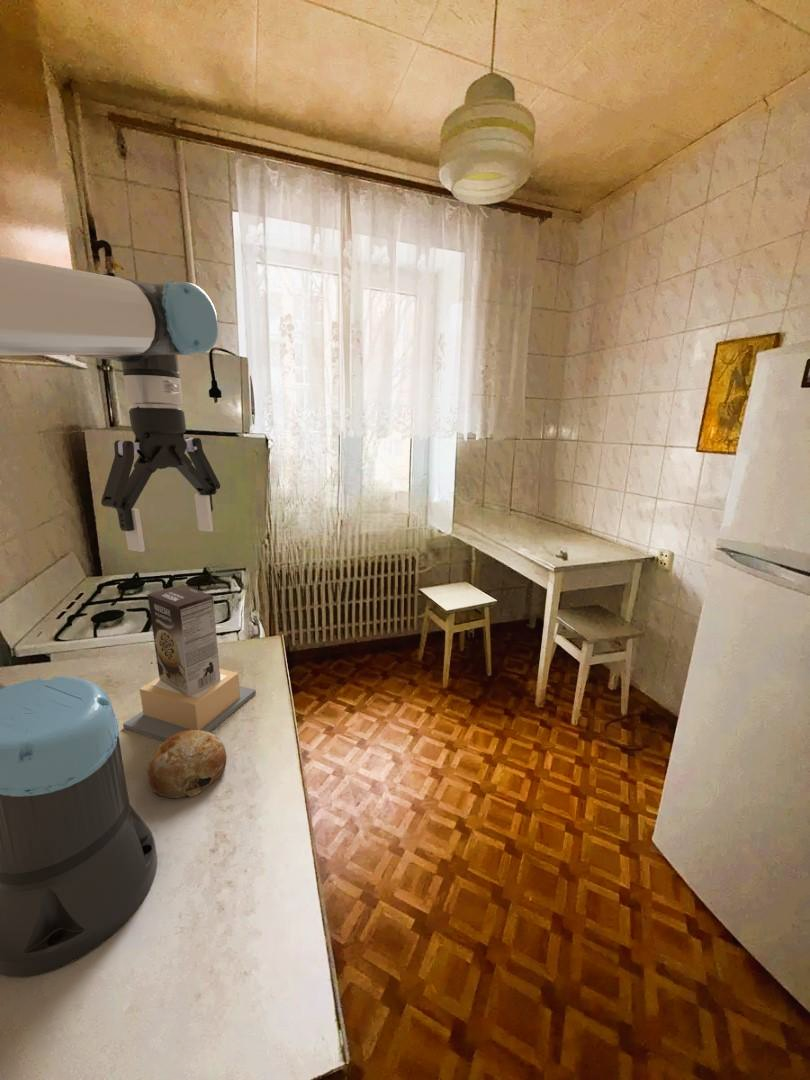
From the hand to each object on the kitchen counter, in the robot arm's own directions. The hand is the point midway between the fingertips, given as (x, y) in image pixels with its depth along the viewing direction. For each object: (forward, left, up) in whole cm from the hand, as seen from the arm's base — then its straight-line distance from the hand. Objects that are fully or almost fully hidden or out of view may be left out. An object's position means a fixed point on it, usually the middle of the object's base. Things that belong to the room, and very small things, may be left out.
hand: (174, 540), depth 73 cm
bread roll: (-14, -13, -31) cm, 36 cm away
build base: (-2, -3, -30) cm, 31 cm away
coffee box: (-2, -3, -25) cm, 25 cm away
